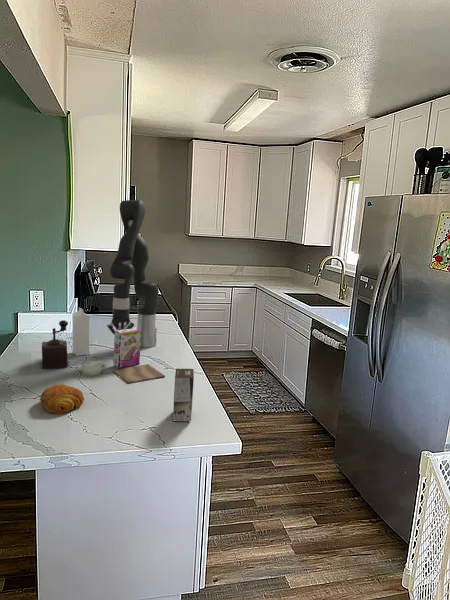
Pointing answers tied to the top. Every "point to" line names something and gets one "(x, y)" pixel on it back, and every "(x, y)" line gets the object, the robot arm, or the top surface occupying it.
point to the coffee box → (183, 394)
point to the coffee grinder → (55, 351)
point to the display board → (138, 373)
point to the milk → (80, 333)
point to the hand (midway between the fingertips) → (120, 343)
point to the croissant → (61, 398)
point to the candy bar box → (127, 347)
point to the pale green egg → (91, 368)
